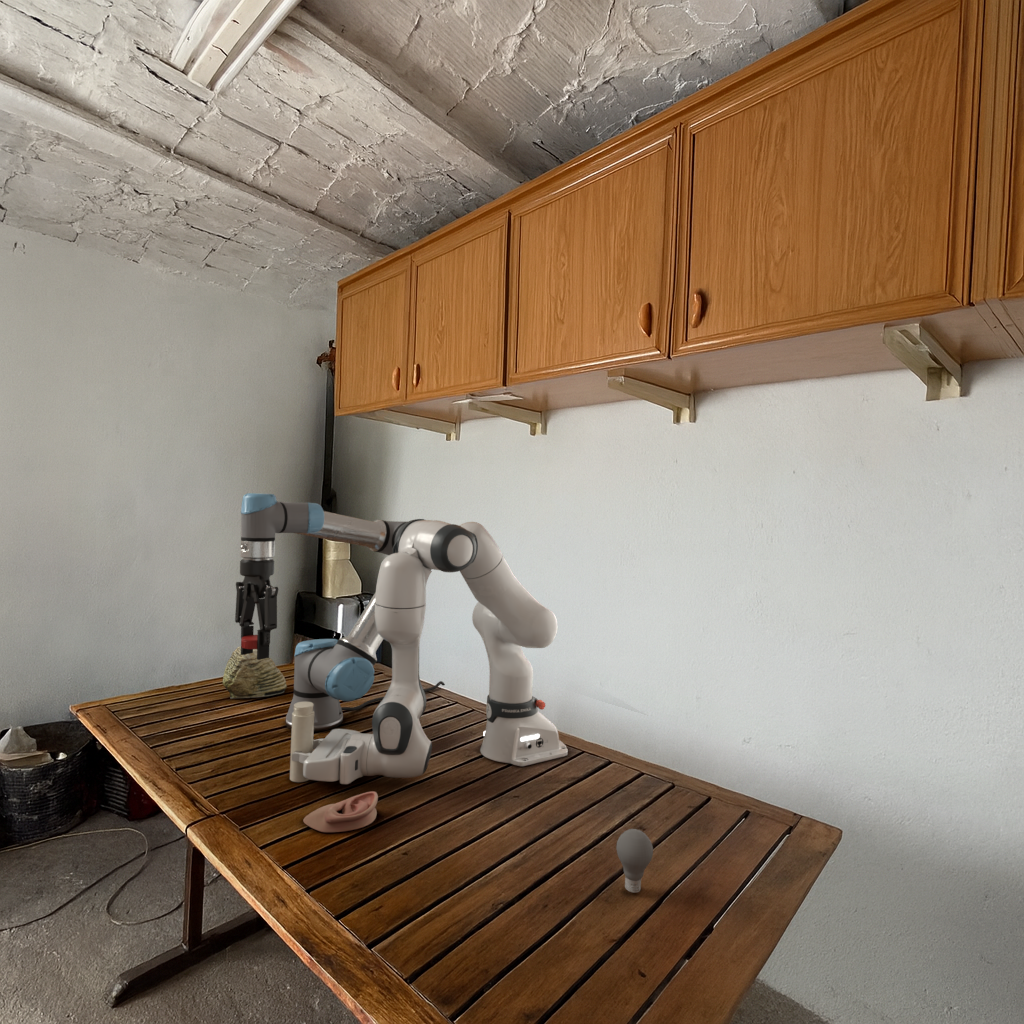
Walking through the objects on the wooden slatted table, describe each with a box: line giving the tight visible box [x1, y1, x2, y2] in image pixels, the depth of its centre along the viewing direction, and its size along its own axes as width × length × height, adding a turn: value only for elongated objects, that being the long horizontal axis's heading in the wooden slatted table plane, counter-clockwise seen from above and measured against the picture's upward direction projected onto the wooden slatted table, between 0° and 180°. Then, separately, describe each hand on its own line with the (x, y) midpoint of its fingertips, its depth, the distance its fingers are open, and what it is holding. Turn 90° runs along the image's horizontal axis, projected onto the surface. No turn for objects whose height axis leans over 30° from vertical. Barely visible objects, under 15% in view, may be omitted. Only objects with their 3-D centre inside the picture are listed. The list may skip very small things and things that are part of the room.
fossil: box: [222, 646, 288, 699], centre depth 198 cm, size 9×18×15 cm, turn 132°
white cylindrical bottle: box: [289, 702, 315, 783], centre depth 142 cm, size 5×5×17 cm
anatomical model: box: [302, 791, 379, 833], centre depth 125 cm, size 13×4×12 cm
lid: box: [240, 634, 258, 649], centre depth 150 cm, size 6×6×2 cm
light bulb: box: [615, 828, 654, 894], centre depth 106 cm, size 6×6×10 cm
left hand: (254, 655), depth 150 cm, fingers closed on lid, 6 cm apart
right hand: (297, 750), depth 142 cm, fingers closed on white cylindrical bottle, 5 cm apart
